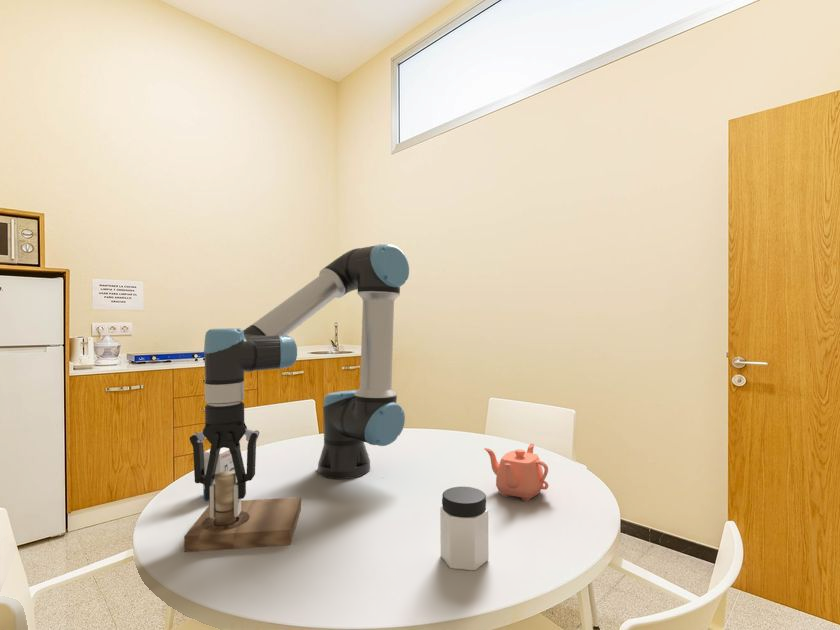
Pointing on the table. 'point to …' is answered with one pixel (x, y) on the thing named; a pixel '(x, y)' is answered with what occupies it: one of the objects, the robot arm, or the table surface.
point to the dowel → (224, 498)
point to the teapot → (519, 473)
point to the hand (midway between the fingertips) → (225, 514)
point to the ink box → (219, 463)
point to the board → (247, 526)
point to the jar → (464, 528)
